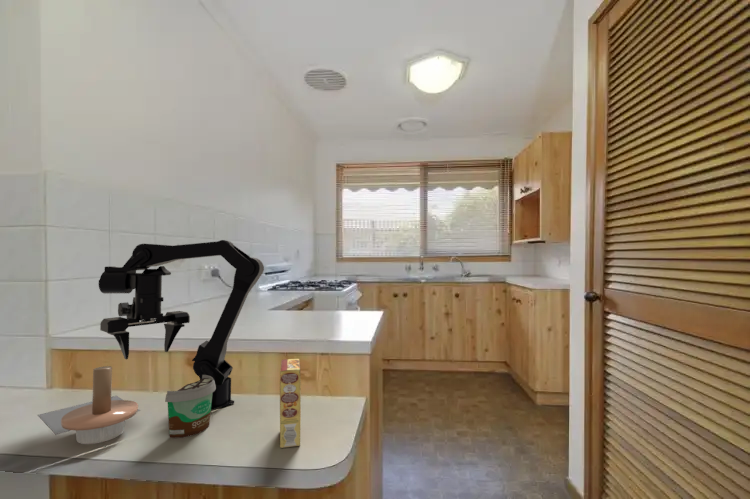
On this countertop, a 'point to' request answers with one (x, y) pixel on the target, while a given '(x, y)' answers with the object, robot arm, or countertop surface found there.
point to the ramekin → (99, 434)
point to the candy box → (290, 403)
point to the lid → (100, 406)
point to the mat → (55, 416)
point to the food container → (190, 408)
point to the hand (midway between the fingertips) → (147, 355)
